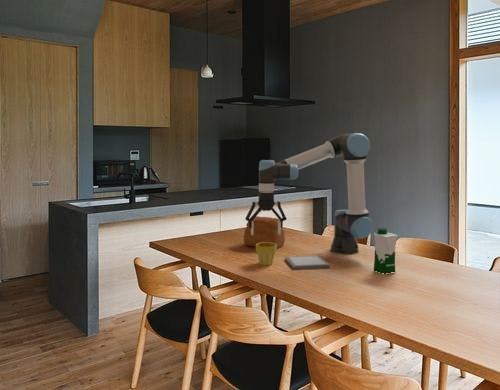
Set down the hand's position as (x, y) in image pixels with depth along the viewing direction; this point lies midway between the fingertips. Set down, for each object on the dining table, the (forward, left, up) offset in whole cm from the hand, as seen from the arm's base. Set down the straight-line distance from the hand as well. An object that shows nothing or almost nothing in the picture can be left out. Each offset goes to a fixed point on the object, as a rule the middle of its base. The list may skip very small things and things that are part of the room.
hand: (265, 234), depth 221 cm
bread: (-6, -39, -15) cm, 42 cm away
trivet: (-20, +3, -15) cm, 25 cm away
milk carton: (-52, +22, -15) cm, 59 cm away
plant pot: (0, 0, -15) cm, 15 cm away
